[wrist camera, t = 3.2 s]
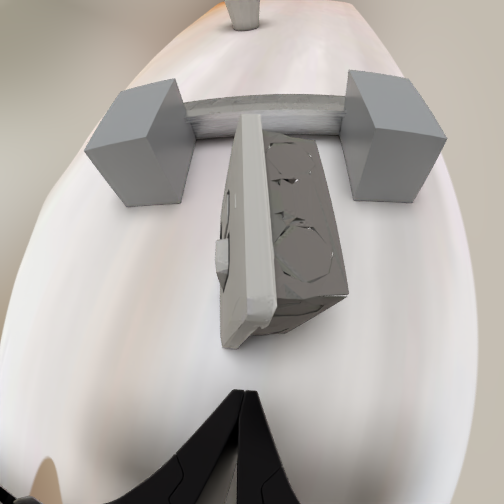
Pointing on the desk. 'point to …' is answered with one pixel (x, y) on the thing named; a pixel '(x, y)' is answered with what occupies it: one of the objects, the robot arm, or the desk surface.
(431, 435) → the desk surface
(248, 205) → the electrical switch
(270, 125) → the rail
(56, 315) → the desk surface
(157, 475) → the robot arm
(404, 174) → the mounted modules
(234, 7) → the cup
